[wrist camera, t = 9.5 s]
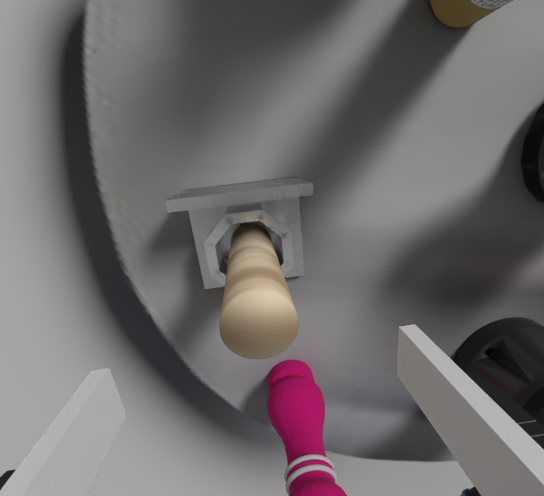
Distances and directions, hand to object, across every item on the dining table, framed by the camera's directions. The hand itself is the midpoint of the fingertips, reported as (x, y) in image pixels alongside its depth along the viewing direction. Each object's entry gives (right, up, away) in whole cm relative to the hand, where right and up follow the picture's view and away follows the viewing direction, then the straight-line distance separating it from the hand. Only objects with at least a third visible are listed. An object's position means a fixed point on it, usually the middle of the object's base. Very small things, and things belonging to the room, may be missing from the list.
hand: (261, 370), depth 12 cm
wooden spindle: (-2, +6, +18) cm, 19 cm away
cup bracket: (-2, +7, +19) cm, 20 cm away
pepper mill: (+3, -13, +26) cm, 29 cm away
